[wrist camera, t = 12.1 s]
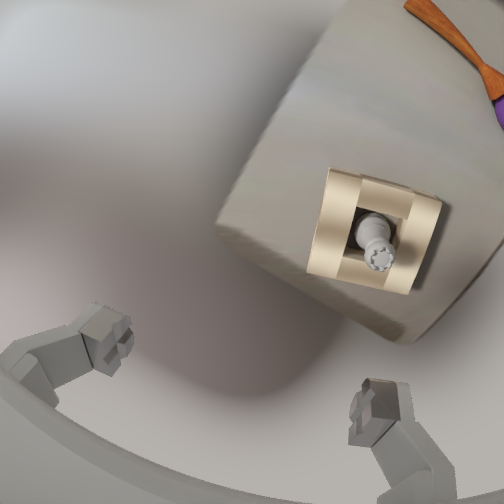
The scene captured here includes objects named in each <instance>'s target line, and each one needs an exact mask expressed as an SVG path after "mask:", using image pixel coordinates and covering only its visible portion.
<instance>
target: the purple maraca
mask: <svg viewBox="0 0 504 504" xmlns="http://www.w3.org/2000/svg"><path fill="white" fill-rule="evenodd" d="M404 8H405V9H407V10H408V11H409V12H411V13H412V14H414V15H415V16H417V17H418V18H420V19H421V20H422V21H424V22H425V23H426V24H428V25H429V26H430V27H432V28H433V29H434V30H436V31H437V32H438V33H439V34H441V35H442V36H443V37H444V38H446V39H447V40H448V41H449V42H450V43H452V44H453V45H454V46H455V47H456V48H457V49H458V50H460V51H461V52H462V53H463V54H464V55H465V56H466V57H467V58H468V59H470V60H471V61H472V62H473V63H474V64H475V65H476V66H477V67H478V69H479V71H480V74H481V77H482V79H483V82H484V85H485V88H486V91H487V94H488V97H489V99H490V100H494V99H496V98H497V99H496V101H495V113H496V116H497V120H498V122H499V123H500V125H501V126H502V127H503V129H504V75H503V74H502V73H500V72H498V71H497V70H495V69H494V68H492V67H490V66H489V65H487V64H485V63H484V62H483V61H482V59H481V58H480V57H479V55H478V54H477V53H476V51H475V50H474V49H473V47H472V46H471V45H470V44H469V42H468V41H467V40H466V39H465V37H464V36H463V35H462V34H461V33H460V31H459V30H458V29H457V28H456V27H455V26H454V25H453V23H452V22H451V21H450V20H449V19H448V18H447V17H446V16H445V15H444V14H443V13H442V11H441V10H440V9H439V8H438V7H437V6H436V5H435V4H434V3H433V2H432V1H431V0H407V2H406V3H405V5H404Z"/></svg>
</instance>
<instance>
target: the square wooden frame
mask: <svg viewBox="0 0 504 504" xmlns="http://www.w3.org/2000/svg"><path fill="white" fill-rule="evenodd" d="M441 206H442V202H441V201H440V200H439V199H438V198H437V197H435V196H434V195H432V194H429V193H426V192H422V191H419V190H416V189H413V188H409V187H406V186H403V185H399V184H396V183H392V182H389V181H385V180H382V179H378V178H374V177H371V176H367V175H363V174H359V173H355V172H351V171H347V170H343V169H338V168H334V167H330V166H329V171H328V176H327V181H326V186H325V190H324V195H323V200H322V204H321V209H320V213H319V218H318V222H317V226H316V231H315V235H314V239H313V243H312V247H311V251H310V255H309V260H308V266H307V273H311V274H316V275H320V276H324V277H329V278H333V279H338V280H342V281H347V282H351V283H356V284H360V285H364V286H369V287H373V288H378V289H382V290H387V291H391V292H396V293H401V294H405V295H408V293H409V291H410V289H411V286H412V284H413V282H414V279H415V277H416V275H417V272H418V270H419V267H420V265H421V263H422V260H423V257H424V255H425V252H426V250H427V247H428V244H429V242H430V239H431V236H432V233H433V230H434V228H435V225H436V222H437V219H438V216H439V213H440V210H441ZM356 207H360V208H364V209H368V210H372V211H376V212H380V213H384V214H387V215H391V216H395V217H398V218H399V221H398V224H397V227H396V230H395V234H394V237H393V240H392V243H391V245H393V247H394V249H395V251H396V258H395V260H394V263H393V264H392V267H391V268H390V269H388V268H387V269H385V270H384V271H385V272H380V271H377V270H376V271H374V270H373V269H371V268H370V267H368V266H367V264H366V262H365V259H364V254H365V251H363V250H359V249H355V248H350V247H346V242H347V239H348V235H349V232H350V228H351V224H352V221H353V217H354V213H355V209H356Z"/></svg>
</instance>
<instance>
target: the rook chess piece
mask: <svg viewBox="0 0 504 504" xmlns="http://www.w3.org/2000/svg"><path fill="white" fill-rule="evenodd" d="M353 231H354V237H355V240H356V241H357V243H358V245H359V246H360V247H362V248H363V249H364V250H365V254H364V259H365V262H366V264H367V266H368V267H370V268H371V269H373V270H374V271H376V270H377V271H380V272H385V271H384V270H385V269H387V268H388V269H390V268H391V267H392V264H393V263H394V260H395V258H396V251H395V249H394V247H393V245H391V244H390V243H389V239H390V235H391V233H390V227H389V224H388V222H387V220H386V218H384V217H383V216H382V215H380V214H377V213H368V214H365V215H363V216H361V217H360V218H359V219H358V220H357V222H356V223H355V226H354V230H353Z"/></svg>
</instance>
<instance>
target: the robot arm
mask: <svg viewBox="0 0 504 504" xmlns="http://www.w3.org/2000/svg"><path fill="white" fill-rule="evenodd" d="M131 324H132V322H131V317H130V316H128V315H126V314H124V313H121V312H119V311H117V310H114V309H111V308H110V307H107V306H105V305H102V304H100V303H98V302H94V303H91V304H90V305H89V306H88V307H87V308H86V309H85V310H84V311H83V312H82V313H81V314H80V315H79V316H78V317H77V318H76V319H75V320H74V321H73V322H72V323H71V324H70V325H69V326H65V325H64V326H61V327H57V328H54V329H51V330H47V331H44V332H41V333H38V334H34V335H31V336H28V337H25V338H22V339H18V340H15V341H13V342H12V343H11V344H10V345H9V346H8V347H7V348H6V349H5V350H4V351H3V352H2V353H1V354H0V504H310V503H302V502H293V501H287V500H282V499H276V498H270V497H265V496H260V495H256V494H251V493H247V492H243V491H238V490H234V489H231V488H227V487H223V486H220V485H216V484H213V483H210V482H206V481H203V480H200V479H197V478H194V477H191V476H188V475H185V474H183V473H180V472H177V471H174V470H172V469H169V468H167V467H164V466H161V465H159V464H157V463H154V462H152V461H149V460H147V459H145V458H143V457H140V456H138V455H136V454H134V453H132V452H130V451H128V450H125V449H123V448H121V447H119V446H117V445H115V444H113V443H111V442H110V441H108V440H106V439H104V438H102V437H100V436H98V435H97V434H95V433H93V432H91V431H89V430H88V429H86V428H84V427H83V426H81V425H79V424H78V423H76V422H74V421H73V420H71V419H69V418H68V417H66V416H65V415H63V414H62V413H60V412H59V411H57V410H56V409H55V407H56V406H57V404H58V403H59V398H58V396H57V395H56V393H55V391H54V389H55V388H57V387H59V386H61V385H64V384H65V383H68V382H70V381H71V380H74V379H76V378H78V377H80V376H81V375H84V374H86V373H87V372H90V371H92V370H93V369H95V370H97V371H99V372H101V373H104V374H106V375H108V376H110V377H112V376H113V374H114V373H115V372H116V371H117V369H118V368H119V367H120V365H121V361H120V359H122V358H125V357H127V356H128V354H129V353H130V352H131V350H132V347H133V344H134V334H133V332H132V330H131V329H130V328H129V326H130V325H131ZM349 418H350V419H351V421H352V422H353V424H352V425H351V427H350V428H349V442H348V444H349V445H353V446H362V447H370V448H371V450H372V452H373V454H374V456H375V458H376V460H377V462H378V464H379V465H380V467H381V469H382V471H383V473H384V475H385V477H386V479H387V481H388V483H389V485H390V486H391V489H390V490H388V491H387V492H385V493H383V494H382V495H380V496H379V497H378V498H377V504H504V489H501V490H498V491H494V492H490V493H486V494H482V495H478V496H473V497H469V498H463V499H458V500H457V492H456V479H455V470H454V466H453V465H452V464H451V462H450V461H449V460H448V459H447V457H446V456H445V455H444V453H443V452H442V451H441V450H440V449H439V447H438V446H437V445H436V443H435V442H434V441H433V439H432V438H431V437H430V436H429V434H428V433H427V432H426V431H425V429H424V428H423V427H422V426H421V424H420V423H419V422H415V417H414V410H413V403H412V397H411V391H410V385H409V384H408V383H403V382H394V381H387V380H380V379H372V378H367V379H365V381H364V382H363V384H362V390H361V391H359V392H357V393H356V395H355V396H354V398H353V401H352V403H351V407H350V416H349Z"/></svg>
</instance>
